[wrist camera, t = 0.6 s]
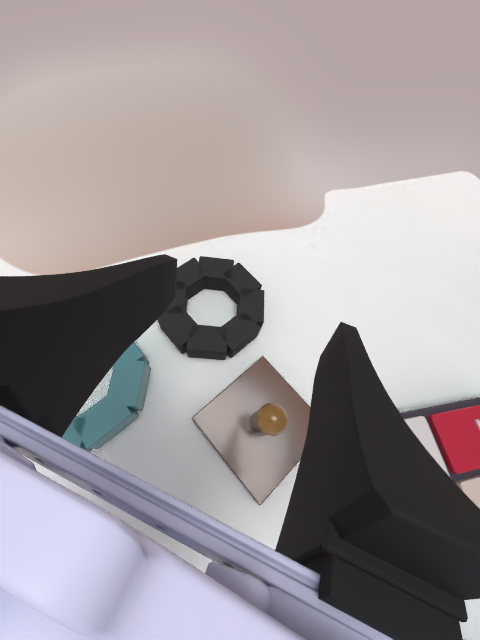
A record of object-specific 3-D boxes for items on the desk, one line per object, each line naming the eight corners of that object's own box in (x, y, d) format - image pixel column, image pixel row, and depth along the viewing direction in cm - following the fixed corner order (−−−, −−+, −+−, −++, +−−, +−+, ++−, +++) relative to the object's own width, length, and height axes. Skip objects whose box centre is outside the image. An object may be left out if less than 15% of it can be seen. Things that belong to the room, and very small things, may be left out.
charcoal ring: (204, 380, 27) (203, 374, 25) (141, 304, 30) (135, 292, 27) (279, 318, 31) (285, 307, 28) (217, 256, 33) (218, 241, 31)
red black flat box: (596, 527, 22) (446, 584, 19) (535, 515, 26) (402, 560, 22) (518, 390, 26) (385, 417, 23) (476, 397, 30) (357, 421, 27)
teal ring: (58, 480, 22) (41, 485, 20) (-3, 377, 25) (-25, 370, 23) (171, 390, 26) (167, 385, 24) (108, 309, 29) (99, 297, 27)
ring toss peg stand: (257, 502, 23) (275, 524, 17) (192, 419, 25) (187, 411, 19) (324, 427, 26) (359, 423, 20) (260, 358, 28) (275, 336, 22)
